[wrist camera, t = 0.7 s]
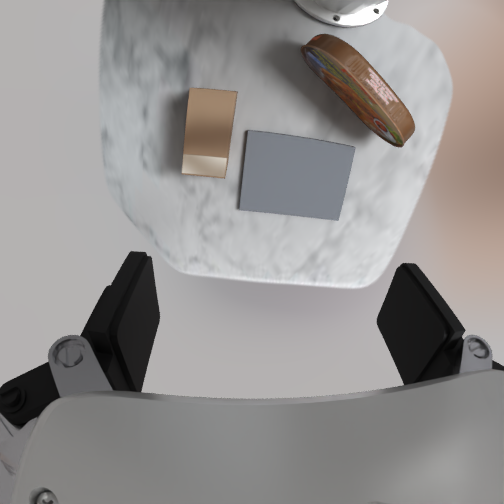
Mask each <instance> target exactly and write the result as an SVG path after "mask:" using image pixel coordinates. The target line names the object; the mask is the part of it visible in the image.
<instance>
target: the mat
mask: <svg viewBox="0 0 504 504" xmlns="http://www.w3.org/2000/svg"><path fill="white" fill-rule="evenodd" d="M354 153H355V147H353V146H349V145H344V144H339V143H334V142H328V141H323V140H317V139H311V138H305V137H299V136H292V135H285V134H278V133H270V132H262V131H253V130H248V135H247V143H246V152H245V161H244V170H243V179H242V188H241V197H240V207H239V210H243V211H254V212H264V213H274V214H284V215H293V216H303V217H311V218H320V219H328V220H337V221H338V220H339V216H340V212H341V208H342V204H343V200H344V196H345V192H346V188H347V184H348V179H349V175H350V171H351V166H352V162H353V157H354Z"/></svg>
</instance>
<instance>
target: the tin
mask: <svg viewBox="0 0 504 504" xmlns="http://www.w3.org/2000/svg"><path fill="white" fill-rule="evenodd" d="M301 53H302V56H303V58H304V59H305V61H306V63H307V64H308V65H309V66H310V68H311V69H312V70H313V71H314V72H315V73H316V74H317V75H318V76H319V77H320V78H321V79H322V80H323V81H324V82H325V83H326V84H327V85H328V86H329V87H330V88H331V89H332V90H333V91H334V92H335V93H336V94H337V95H338V96H339V97H340V98H341V99H342V100H343V101H344V102H345V103H346V104H347V105H348V106H349V107H350V108H351V109H352V110H353V112H354V113H355V114H356V115H357V116H358V117H359V118H360V119H361V120H362V121H363V122H364V123H365V124H366V125H367V126H368V127H369V128H370V129H371V130H372V131H373V132H374V133H376V134H377V135H378V136H379V137H381V138H382V139H383V140H385V141H386V142H388V143H390V144H391V145H393V146H396V147H403V145H404V143H405V142H406V141H407V140H408V139H409V138H410V137H411V135H412V134H413V133H414V131H415V124H414V121H413V118H412V116H411V114H410V113H409V111H408V109H407V108H406V107H405V105H404V104H403V103H402V101H401V100H400V99H399V97H398V96H397V95H396V94H395V92H394V91H393V90H392V89H391V88H390V86H389V85H388V84H387V83H386V82H385V80H384V79H383V78H382V77H381V76H380V75H379V74H378V72H377V71H376V70H375V69H374V68H373V67H372V66H371V65H370V64H369V62H368V61H367V60H366V59H365V58H364V57H363V56H362V55H361V54H360V53H359V52H358V51H357V50H355V49H354V48H353V47H352V46H350V45H349V44H348V43H346V42H345V41H343V40H341V39H339V38H337V37H335V36H333V35H329V34H320V35H317V36H315V37H314V38H312V39H311V40H310V41H309V42H308V43H307V44H306V45H304V46H302V47H301Z"/></svg>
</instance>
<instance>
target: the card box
mask: <svg viewBox="0 0 504 504" xmlns="http://www.w3.org/2000/svg"><path fill="white" fill-rule="evenodd" d="M237 93H238V92H236V91H227V90H216V89H204V88H190V91H189V99H188V108H187V117H186V127H185V138H184V150H183V163H182V174H185V175H196V176H206V177H216V178H225V175H226V170H227V165H228V157H229V150H230V142H231V135H232V127H233V120H234V113H235V106H236V99H237Z"/></svg>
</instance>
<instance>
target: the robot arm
mask: <svg viewBox="0 0 504 504" xmlns="http://www.w3.org/2000/svg"><path fill="white" fill-rule="evenodd" d="M294 1H295V2H296V3H297V5H298V6H299V7H300V8H302V9H303V10H304V11H305V12H306V13H308V14H309V15H311V16H313V17H314V18H316V19H318V20H320V21H322V22H325V23H328V24H331V25H334V26H340V27H359V26H364V25H366V24H369V23H371V22H373V21H375V20H377V19H378V18H379V17H380V16H381V15H382V14H383V13H384V11H385V10H386V8H387V5H388V0H294ZM373 11H374V12H375V13H374V12H373ZM333 18H335V19H336V21H334V20H333ZM159 319H160V312H159V305H158V300H157V293H156V286H155V279H154V271H153V264H152V258H151V256H147V254H146V252H134V251H131V252H130V253H129V254H128V256H127V258H126V259H125V261H124V263H123V264H122V266H121V268H120V270H119V271H118V273H117V275H116V277H115V279H114V280H113V282H112V285H111V286H110V285H109V286H107V287H106V288H105V290H104V291H103V293H102V295H101V297H100V299H99V300H98V302H97V304H96V306H95V308H94V310H93V312H92V314H91V316H90V318H89V319H88V321H87V324H86V325H85V327H84V330H83V332H82V333H81V335H80V336H78V335H68V336H65V337H62V338H60V339H58V340H57V341H56V342H55V343H54V344H53V345H52V346H51V348H50V349H49V353H48V360H49V362H47V363H45V364H43V365H41V366H39V367H37V368H35V369H33V370H30V371H28V372H26V373H25V374H22V375H20V376H18V377H16V378H14V379H12V380H10V381H8V382H6V383H5V384H3V385H2V386H1V388H0V504H504V366H502V365H500V364H499V363H497V362H495V361H493V360H492V350H491V348H490V346H489V345H488V343H487V342H486V341H485V340H484V339H482V338H481V337H479V336H476V335H468V336H467V337H465V339H464V340H463V338H462V335H463V334H464V332H465V329H464V327H463V326H462V324H461V323H460V321H459V320H458V319H457V317H456V316H455V314H454V313H453V311H452V310H451V309H450V307H449V306H448V304H447V303H446V302H445V300H444V299H443V298H442V296H441V295H440V294H439V293H438V291H437V290H436V289H435V288H434V286H433V285H432V283H431V282H430V281H429V280H428V278H427V277H426V276H425V274H424V273H423V272H422V271H421V270H420V269H419V267H418V266H417V265H416V264H414V263H413V264H412V263H403V264H401V265H400V267H398V268H397V269H396V272H395V275H394V277H393V280H392V282H391V285H390V288H389V290H388V293H387V295H386V298H385V300H384V302H383V305H382V307H381V310H380V312H379V314H378V317H377V325H378V328H379V330H380V332H381V334H382V336H383V338H384V340H385V343H386V345H387V347H388V349H389V351H390V353H391V356H392V358H393V360H394V362H395V365H396V367H397V369H398V371H399V374H400V376H401V378H402V381H403V383H404V385H403V386H398V387H392V388H386V389H379V390H372V391H365V392H357V393H349V394H339V395H329V396H317V397H300V398H276V399H231V398H206V397H189V396H175V395H164V394H154V393H142V392H141V391H142V386H143V382H144V378H145V374H146V370H147V366H148V362H149V358H150V354H151V350H152V347H153V343H154V339H155V336H156V332H157V328H158V325H159V321H160V320H159Z"/></svg>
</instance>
